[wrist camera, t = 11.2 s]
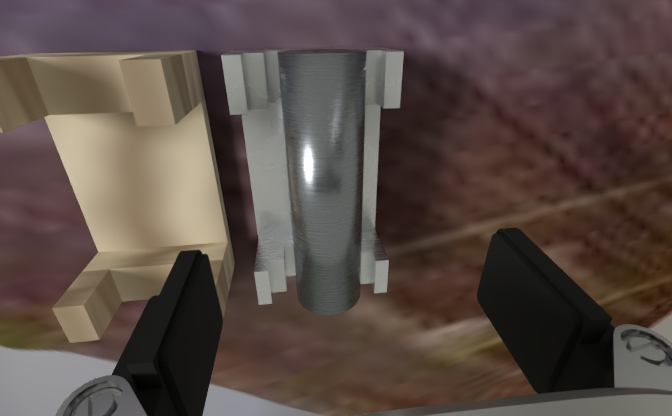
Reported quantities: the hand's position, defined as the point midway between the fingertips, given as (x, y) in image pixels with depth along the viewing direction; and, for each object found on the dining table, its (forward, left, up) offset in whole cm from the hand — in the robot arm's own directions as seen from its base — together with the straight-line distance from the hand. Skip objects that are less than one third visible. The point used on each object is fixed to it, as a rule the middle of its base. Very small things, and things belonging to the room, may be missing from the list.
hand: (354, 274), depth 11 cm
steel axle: (0, +1, -10) cm, 10 cm away
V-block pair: (0, +1, -12) cm, 12 cm away
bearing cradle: (+10, +1, -12) cm, 16 cm away
